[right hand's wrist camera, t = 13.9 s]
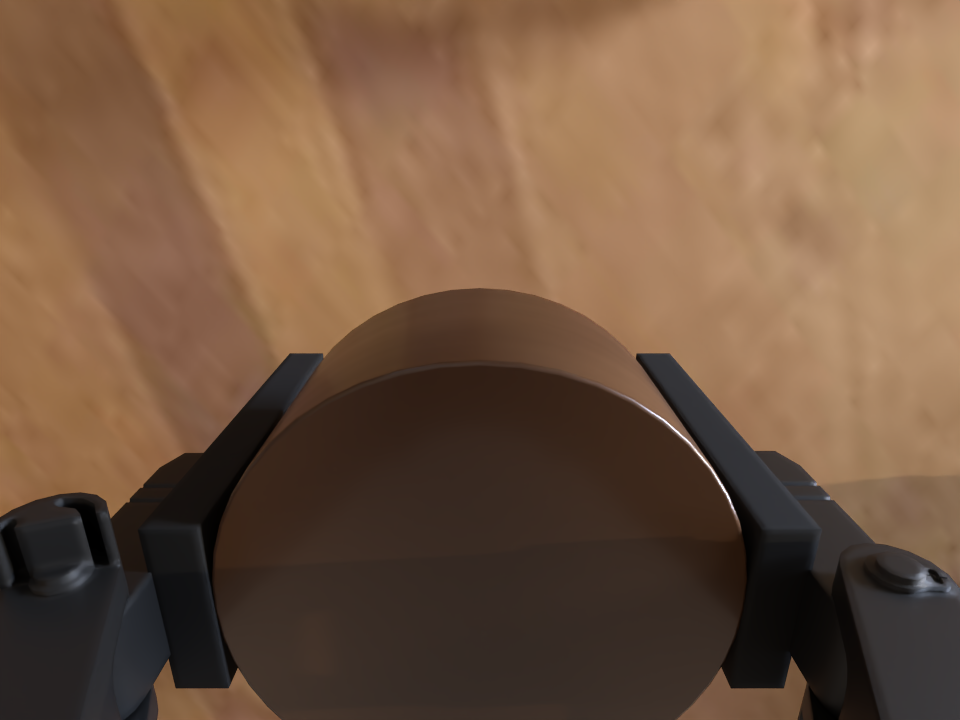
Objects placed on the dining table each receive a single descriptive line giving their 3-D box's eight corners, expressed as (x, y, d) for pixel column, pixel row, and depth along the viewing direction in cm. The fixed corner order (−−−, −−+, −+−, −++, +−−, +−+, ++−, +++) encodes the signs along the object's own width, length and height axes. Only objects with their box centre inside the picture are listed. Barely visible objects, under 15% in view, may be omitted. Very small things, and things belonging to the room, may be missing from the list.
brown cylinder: (692, 287, 10) (795, 360, 7) (649, 620, 13) (709, 790, 9) (265, 287, 10) (163, 361, 7) (308, 621, 13) (249, 791, 9)
